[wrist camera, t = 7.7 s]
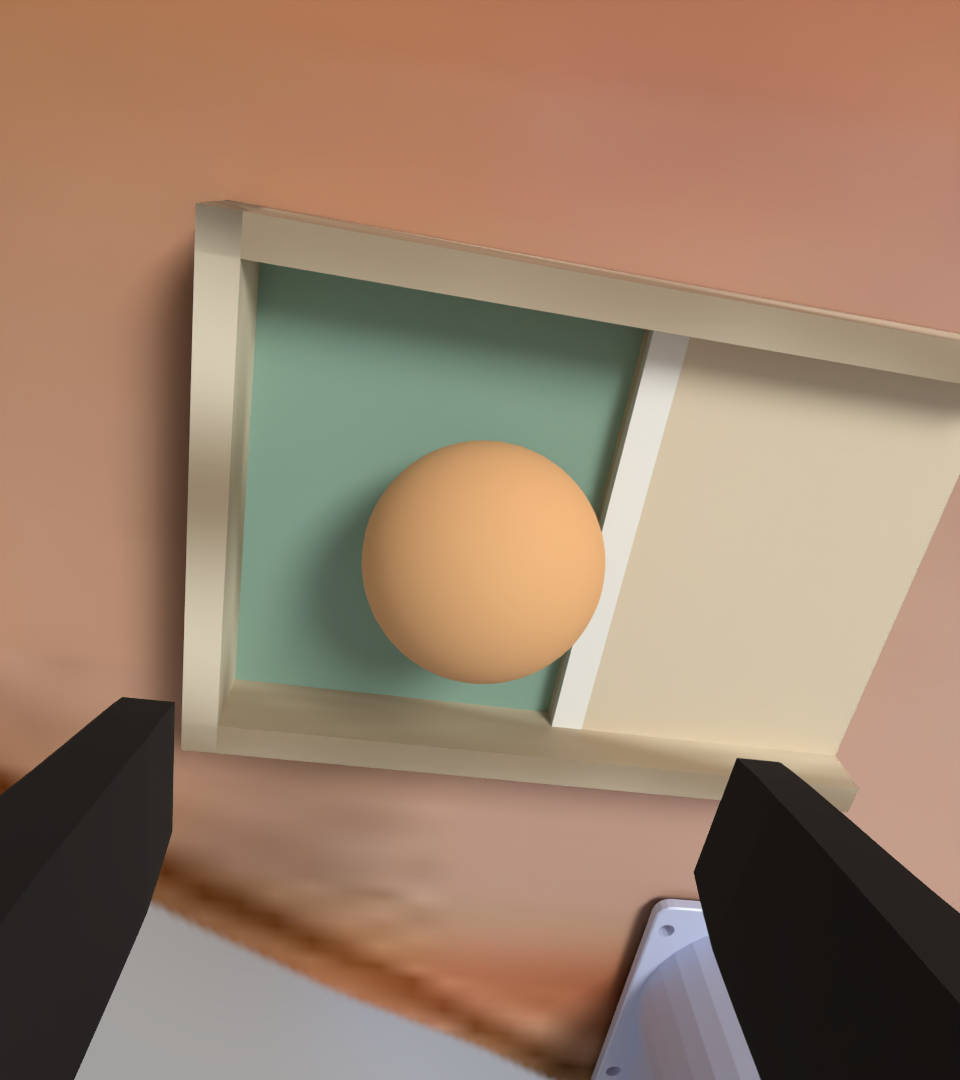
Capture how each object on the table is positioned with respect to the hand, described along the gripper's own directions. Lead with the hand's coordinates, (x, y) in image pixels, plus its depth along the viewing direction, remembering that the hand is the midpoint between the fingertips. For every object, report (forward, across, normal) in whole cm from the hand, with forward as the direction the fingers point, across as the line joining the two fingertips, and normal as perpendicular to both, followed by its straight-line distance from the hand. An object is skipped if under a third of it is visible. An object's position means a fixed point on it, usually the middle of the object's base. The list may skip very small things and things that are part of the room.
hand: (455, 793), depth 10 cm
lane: (+10, -3, 0) cm, 10 cm away
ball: (+9, 0, 0) cm, 9 cm away
